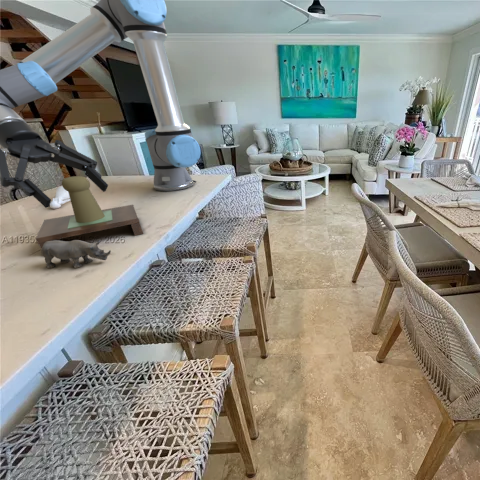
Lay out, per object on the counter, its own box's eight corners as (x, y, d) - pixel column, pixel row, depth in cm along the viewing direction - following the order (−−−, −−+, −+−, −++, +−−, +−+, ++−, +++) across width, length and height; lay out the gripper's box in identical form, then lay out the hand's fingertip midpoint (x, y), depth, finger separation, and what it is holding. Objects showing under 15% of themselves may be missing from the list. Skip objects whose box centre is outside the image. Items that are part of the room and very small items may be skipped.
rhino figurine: (108, 268, 57) (98, 243, 55) (42, 270, 57) (28, 245, 54) (120, 258, 61) (111, 235, 58) (58, 260, 60) (46, 236, 58)
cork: (102, 212, 74) (86, 173, 69) (106, 218, 70) (90, 177, 65) (74, 218, 70) (56, 177, 65) (77, 224, 66) (57, 181, 61)
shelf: (137, 218, 83) (132, 203, 81) (143, 233, 73) (137, 217, 71) (52, 235, 72) (43, 219, 70) (45, 256, 62) (35, 237, 60)
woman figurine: (84, 182, 104) (72, 197, 90) (89, 193, 106) (77, 209, 93) (46, 185, 99) (26, 202, 86) (51, 196, 102) (33, 215, 88)
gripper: (65, 137, 77) (121, 191, 80) (-66, 148, 56) (16, 221, 59) (70, 117, 74) (128, 174, 76) (-69, 122, 52) (19, 201, 55)
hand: (79, 195), depth 68 cm, fingers open, 13 cm apart
